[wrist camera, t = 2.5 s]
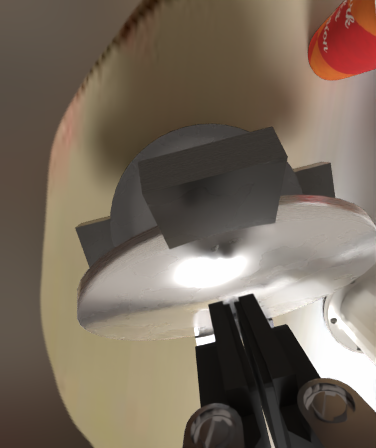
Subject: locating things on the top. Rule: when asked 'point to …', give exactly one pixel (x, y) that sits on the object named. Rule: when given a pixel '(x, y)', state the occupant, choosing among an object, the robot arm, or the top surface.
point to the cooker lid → (223, 244)
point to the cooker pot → (139, 211)
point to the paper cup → (345, 41)
